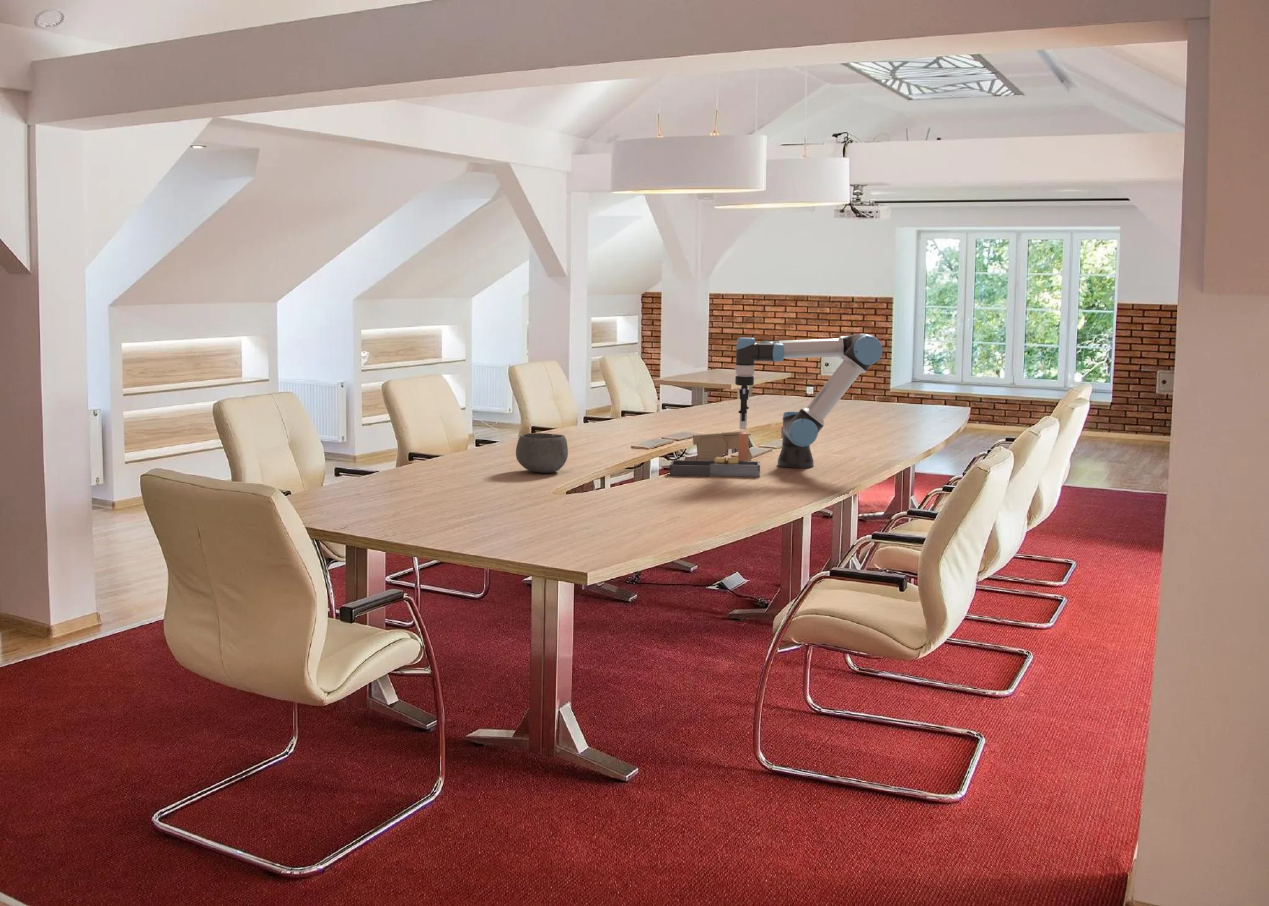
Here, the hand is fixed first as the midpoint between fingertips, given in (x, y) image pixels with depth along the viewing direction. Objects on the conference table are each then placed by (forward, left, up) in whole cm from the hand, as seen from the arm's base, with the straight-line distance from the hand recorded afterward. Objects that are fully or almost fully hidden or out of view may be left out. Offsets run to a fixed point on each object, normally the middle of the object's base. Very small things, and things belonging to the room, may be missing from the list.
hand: (743, 427), depth 501 cm
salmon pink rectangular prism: (0, 0, -18) cm, 18 cm away
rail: (+3, +11, -18) cm, 21 cm away
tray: (+21, +11, -18) cm, 29 cm away
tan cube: (+4, +11, -15) cm, 20 cm away
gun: (+9, -12, -18) cm, 24 cm away
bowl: (+81, +17, -18) cm, 84 cm away
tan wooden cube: (+9, +10, -15) cm, 21 cm away
